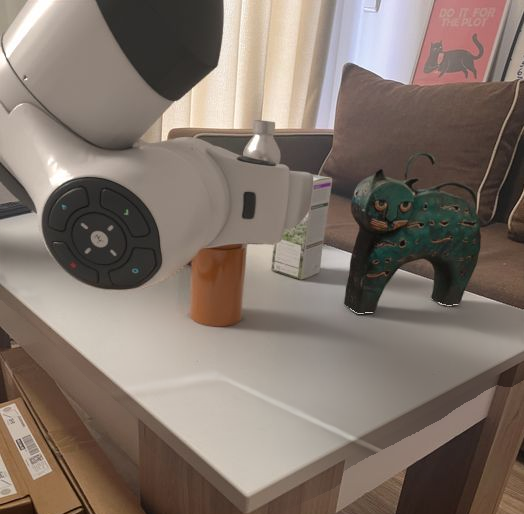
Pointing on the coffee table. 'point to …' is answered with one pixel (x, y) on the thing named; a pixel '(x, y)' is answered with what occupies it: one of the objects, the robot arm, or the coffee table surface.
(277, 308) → the coffee table surface
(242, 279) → the jar
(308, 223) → the syrup box
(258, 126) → the metal water bottle
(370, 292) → the ceramic cat
